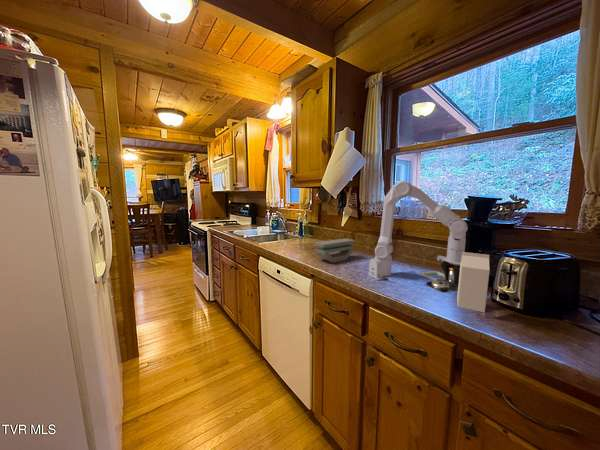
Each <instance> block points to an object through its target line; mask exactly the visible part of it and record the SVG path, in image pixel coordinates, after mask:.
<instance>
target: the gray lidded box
mask: <svg viewBox="0 0 600 450" xmlns="http://www.w3.org/2000/svg"><path fill="white" fill-rule="evenodd" d="M355 243H356V240H355V239H351V238H338V239H331V240H330V239H329V240H322V241H321V240H320V241H315V242H313V244H314V246H316V247H315V253H316V254H317V255H318V256H319V257H320V258H321V259H322V260H323V261H326V262H329V263H337V262H342V261H347V260H348V259H349V257H350V255H351V254H352V253H353V251H354V249H355V246H354V245H351V244H355Z"/></svg>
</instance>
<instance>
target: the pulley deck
mask: <svg viewBox="0 0 600 450" xmlns="http://www.w3.org/2000/svg"><path fill="white" fill-rule="evenodd" d="M423 285H424V286H427V287H429V288H432V289H434V290H436V291H438V292H440V293H442V294H443V293H445V294H446V293H450V292H458V284H457V287H451V286H452V285H451V284H448V281H446V280H444V281H434V280H431V281H427V282H426V283H424V284H423Z"/></svg>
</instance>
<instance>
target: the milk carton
mask: <svg viewBox="0 0 600 450" xmlns="http://www.w3.org/2000/svg"><path fill="white" fill-rule="evenodd" d="M490 269H491V268H490V254H485V253H484V254H483V253H474V252H466V251H464V252H462V257H461V264H460V274H459V284H458V291H457V295H456V297H457V298H456V302H457V303H456V305H457V307H459V308H462V309H465V310H466V309H467V310H472V311H476V312H480V313H476V314H475V315H477V316H481V317H485V315H486V314H485V313H486V305H487V296H488V295H487V294H488V288H489V287H488V286H489V279H490V278H489V277H490Z"/></svg>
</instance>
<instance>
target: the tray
mask: <svg viewBox="0 0 600 450" xmlns="http://www.w3.org/2000/svg"><path fill="white" fill-rule="evenodd" d="M431 275H439V276H442V277H434V276H431ZM420 276H422V277H424V278H426V279H429V280H431V281H441V282H443V281H446V279H445V274H444V272H440V271H436V270H435V271H434V270H433V271H426V272H420Z"/></svg>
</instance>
